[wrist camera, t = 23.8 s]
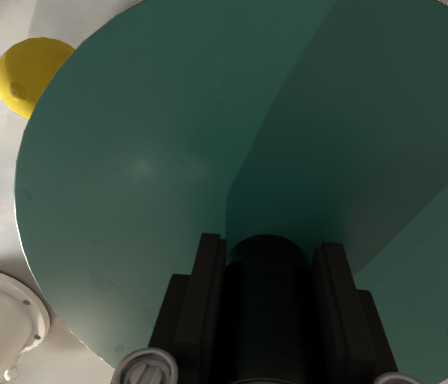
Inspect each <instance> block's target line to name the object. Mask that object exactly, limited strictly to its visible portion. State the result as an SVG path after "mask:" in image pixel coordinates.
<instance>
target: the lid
mask: <svg viewBox="0 0 448 384" xmlns="http://www.w3.org/2000/svg"><path fill="white" fill-rule="evenodd" d="M14 205H15V220H16V225H17V229H18V234H19V238H20V243H21V247H22V250H23V253H24V255H25V258H26V261H27V263H28V266H29V269H30V272H31V273H32V275H33V277H34V279H35V281H36V283H37V285H38V287H39V289H40V291H41V293H42V294H43V296H44V297H45V299H46V300H47V302H48V303H49V305H50V306H51V308H52V309H53V310H54V312H55V313H56V315H57V316H58V317H59V318H60V320H61V321H62V322H63V323H64V324H65V325H66V326H67V328H68V329H69V330H70V331H71V332H72V333H73V334H74V335H75V336H76V337H77V338H78V339H79V340H80V341H81V342H82V343H83V344H84V345H85V346H86V347H87V348H88V349H90V350H91V351H92V352H93V353H94V354H96V355H97V356H98V357H100V358H101V359H102V360H103V361H105V362H106V363H107V364H109V365H110V366H111V367H113V368H114V369H116V368H117V366H118V364H119V363H120V362H121V361H122V360H123V358H124V357H125V356H127V355H128V354H130V353H132V352H133V351H136V350H138V349H141V348H147V347H148V344H149V341H150V338H151V335H152V332H153V329H154V326H155V323H156V320H157V317H158V314H159V311H160V308H161V305H162V302H163V299H164V296H165V293H166V290H167V287H168V284H169V281H170V278H171V276H172V274H173V273H174V274H185V275H191V272H192V269H193V265H194V261H195V257H196V253H197V250H198V246H199V242H200V238H201V235H202V233H213V234H220V239H226V240H227V243H226V269H225V276H224V283H223V290H222V297H221V304H220V311H219V318H218V325H217V332H216V339H215V346H214V353H213V360H212V367H211V374H210V381H209V384H328V383H327V377H326V371H325V365H324V358H323V352H322V346H321V340H320V333H319V327H318V321H317V315H316V308H315V302H314V296H313V290H312V283H311V277H310V271H311V265H312V260H313V254H314V249H315V246H320V247H321V245H322V242H330V243H342V244H343V247H344V250H345V253H346V257H347V260H348V263H349V266H350V270H351V273H352V276H353V279H354V283H355V286H356V289H360V290H369V291H370V292H371V295H372V297H373V299H374V302H375V305H376V308H377V311H378V314H379V317H380V319H381V322H382V325H383V328H384V331H385V334H386V336H387V339H388V342H389V345H390V348H391V351H392V354H393V356H394V359H395V362H396V365H397V368H398V371H399V372H400V373H404V374H407V375H410V376H412V377H414V378H416V379H418V380H420V381H421V382H423V383H424V384H439V383H440V382H442V381H444V380H446V379H447V378H448V6H447V5H445V4H444V3H442V2H440V1H438V0H143V1H141V2H140V3H138V4H136V5H134V6H132V7H131V8H129V9H127V10H125V11H124V12H122V13H120V14H118V15H116V16H115V17H114V18H112V19H111V20H110V21H109V22H107V23H106V24H105V25H104V26H102V27H101V28H100V29H99V30H97V31H96V32H95V33H93V34H92V35H91V36H90V37H88V38H87V39H86V40H85V41H83V42H82V44H81V45H80V46H79V47H78V48H77V49H76V50H75V51H74V52H73V53H72V54H71V56H70V57H69V58H68V59H67V60H66V61H65V62H64V63H63V64H62V65H61V66H60V68H59V69H58V70H57V71H56V73H55V74H54V76H53V77H52V79H51V80H50V82H49V83H48V85H47V86H46V88H45V90H44V91H43V93H42V94H41V96H40V97H39V99H38V100H37V103H36V105H35V107H34V109H33V112H32V114H31V116H30V119H29V121H28V123H27V125H26V128H25V130H24V133H23V137H22V141H21V145H20V149H19V153H18V157H17V161H16V170H15V181H14Z"/></svg>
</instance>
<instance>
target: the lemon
mask: <svg viewBox="0 0 448 384" xmlns="http://www.w3.org/2000/svg"><path fill="white" fill-rule="evenodd" d="M74 51H75V49H73V48H72V47H71V46H69V45H68V44H66V43H64V42H62V41H59V40H56V39H51V38H45V37H40V38H31V39H27V40H24V41H22V42H20V43H17V44H15V45H14V46H12V47H11V48H10V49H9V50H7V51H6V52H5V53H4V54H3V55H2V57H1V58H0V97H1V98H2V100H3V101H4V103H5V104H6V105H7V106H8V107H9V108H10V109H11V110H12V111H14V112H15V113H17V114H19V115H20V116H22V117H24V118H27V119H30V116H31V114H32V112H33V109H34V107H35V105H36V103H37V100H38V99H39V97H40V96H41V94H42V93H43V91H44V90H45V88H46V86H47V85H48V83H49V82H50V80H51V79H52V77H53V76H54V74H55V73H56V71H57V70H58V69H59V68H60V66H61V65H62V64H63V63H64V62H65V61H66V60H67V59H68V58H69V57H70V56H71V54H72V53H73V52H74Z"/></svg>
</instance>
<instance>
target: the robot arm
mask: <svg viewBox="0 0 448 384" xmlns="http://www.w3.org/2000/svg"><path fill="white" fill-rule="evenodd" d="M226 243H227V240H226V239H220V234H213V233H202V235H201V238H200V242H199V246H198V250H197V253H196V257H195V261H194V265H193V269H192V272H191V275H185V274H174V273H173V274H172V276H171V278H170V281H169V284H168V287H167V290H166V293H165V296H164V299H163V302H162V305H161V308H160V311H159V314H158V317H157V320H156V323H155V326H154V329H153V332H152V335H151V338H150V341H149V344H148V347H147V348H141V349H138V350H136V351H133V352H132V353H130V354H128V355H127V356H125V357H124V358H123V360H122V361H121V362H120V363H119V364H118V366H117V368H116V370H115V372H114V374H113V377H112V380H111V383H110V384H209V381H210V374H211V367H212V360H213V353H214V346H215V339H216V332H217V325H218V318H219V311H220V304H221V297H222V290H223V283H224V276H225V269H226ZM310 277H311V283H312V290H313V296H314V302H315V308H316V315H317V321H318V327H319V333H320V340H321V346H322V352H323V358H324V365H325V371H326V377H327V383H328V384H424V383H423V382H421V381H420V380H418V379H416V378H414V377H412V376H410V375H407V374H404V373H400V372H399V371H398V368H397V365H396V362H395V359H394V356H393V354H392V351H391V348H390V345H389V342H388V339H387V336H386V334H385V331H384V328H383V325H382V322H381V319H380V317H379V314H378V311H377V308H376V305H375V302H374V299H373V297H372V295H371V292H370V291H369V290H360V289H356V286H355V283H354V279H353V276H352V273H351V270H350V266H349V263H348V260H347V257H346V253H345V250H344V247H343V244H342V243H330V242H322V245H321V247H320V246H315V249H314V254H313V260H312V265H311V271H310ZM49 327H50V319H49V315H48V312H47V310H46V308H45V306H44V304H43V303H42V301H41V300H40V299H39V298H38V296H37V295H36V294H35V293H34V292H33V291H31V290H30V289H29V288H28V287H26V286H25V285H24V284H22V283H21V282H19V281H17V280H15V279H14V278H12V277H9V276H7V275H4V274H2V273H0V382H1V381H2V380H3V375H4V376H5V378H6V380H8V381H10V380H13V379H15V378H16V377H17V375H18V372H17V370H16V367H15V365H14V364H15V362H16V361H17V359H18V358H19V356H20V355H21V353H22V352H25V351H29V350H31V349H34V348H35V347H37V346H38V345H39V344H40V343H41V342H42V341H43V340H44V338H45V336H46V335H47V333H48V331H49Z"/></svg>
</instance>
